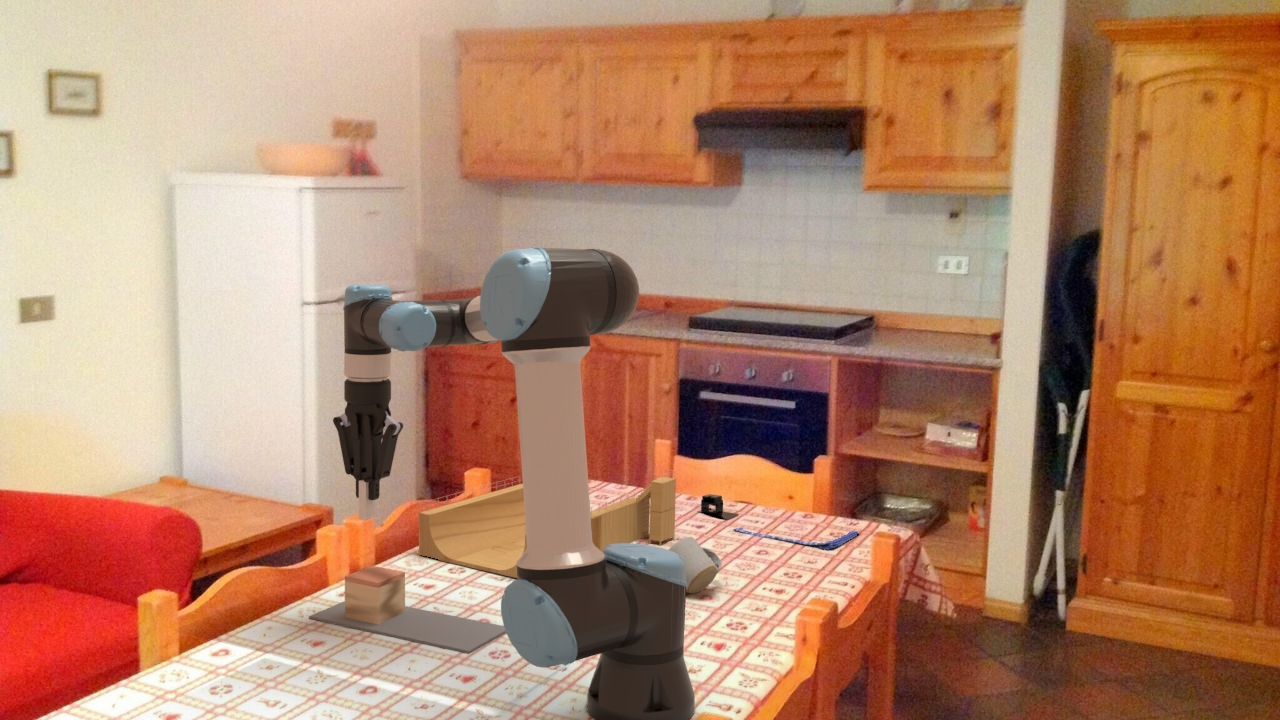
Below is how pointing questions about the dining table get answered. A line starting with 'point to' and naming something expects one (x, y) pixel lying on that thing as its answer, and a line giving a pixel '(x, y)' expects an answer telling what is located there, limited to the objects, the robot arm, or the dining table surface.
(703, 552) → the ceramic mug
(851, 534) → the dish towel
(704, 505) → the black boxy piece
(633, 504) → the skate ramp
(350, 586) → the wooden cube
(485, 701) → the dining table surface
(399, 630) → the slate mat
